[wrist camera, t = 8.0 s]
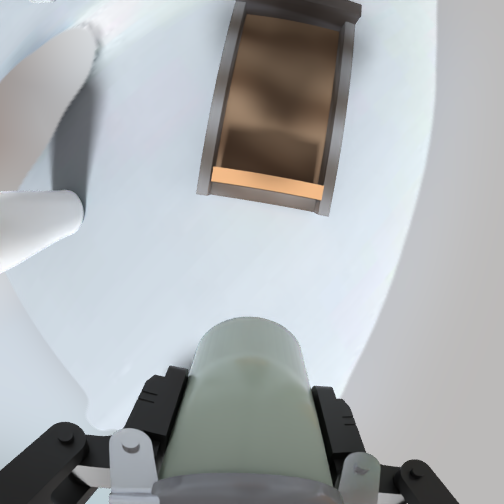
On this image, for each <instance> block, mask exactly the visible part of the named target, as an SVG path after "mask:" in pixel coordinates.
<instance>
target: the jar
mask: <svg viewBox="0 0 504 504" xmlns="http://www.w3.org/2000/svg"><path fill="white" fill-rule="evenodd" d="M151 494H153V495H157V496H158V498H159V500H160V504H345V503H344V499H343V496H342V494H341V493H340V492H339V491H338V490H337V489H336V488H334V487H333V484H332V479H331V474H330V470H329V465H328V461H327V456H326V451H325V447H324V443H323V438H322V434H321V429H320V425H319V421H318V416H317V412H316V408H315V404H314V399H313V395H312V391H311V387H310V383H309V379H308V375H307V371H306V366H305V362H304V358H303V354H302V351H301V347H300V345H299V343H298V341H297V340H296V338H295V337H294V336H293V334H292V333H291V332H290V331H288V330H287V329H286V328H285V327H283V326H281V325H280V324H278V323H276V322H273V321H270V320H267V319H263V318H259V317H239V318H233V319H229V320H226V321H224V322H221V323H219V324H217V325H216V326H214V327H213V328H211V329H210V330H209V331H208V332H207V333H206V334H205V335H204V336H203V338H202V339H201V341H200V342H199V345H198V347H197V350H196V353H195V357H194V360H193V363H192V366H191V369H190V372H189V376H188V379H187V382H186V385H185V389H184V392H183V395H182V398H181V402H180V405H179V408H178V411H177V415H176V418H175V421H174V425H173V428H172V431H171V435H170V438H169V441H168V445H167V448H166V451H165V455H164V458H163V461H162V465H161V468H160V472H159V475H158V481H157V482H154V483H153V486H152V490H151Z"/></svg>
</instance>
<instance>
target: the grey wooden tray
mask: <svg viewBox="0 0 504 504" xmlns="http://www.w3.org/2000/svg"><path fill="white" fill-rule="evenodd" d="M361 6H362V5H361V4H358V3H354V2H351V1H348V0H236V3H235V6H234V10H233V14H232V17H231V21H230V25H229V29H228V33H227V37H226V41H225V45H224V49H223V53H222V58H221V62H220V67H219V71H218V76H217V80H216V85H215V90H214V94H213V99H212V104H211V109H210V114H209V120H208V125H207V130H206V136H205V142H204V147H203V153H202V159H201V165H200V172H199V178H198V185H197V192H196V194H199V195H206V196H207V195H210V194H211V195H218V196H225V197H231V198H237V199H244V200H250V201H256V202H262V203H267V204H273V205H279V206H284V207H290V208H295V209H301V210H306V211H311V212H315V213H316V214H318V215H323V216H328V217H329V212H330V207H331V202H332V197H333V191H334V186H335V180H336V175H337V169H338V163H339V157H340V151H341V145H342V138H343V132H344V125H345V118H346V110H347V102H348V94H349V86H350V77H351V67H352V57H353V46H354V33H355V24H356V22H357V21H358V19H359V18H360V17H361ZM213 166H214V167H221V168H228V169H235V170H241V171H248V172H254V173H260V174H265V175H271V176H277V177H282V178H288V179H293V180H298V181H303V182H308V183H313V184H318V185H322V186H324V189H323V195H322V200H318V199H313V198H308V197H303V196H297V195H292V194H287V193H281V192H276V191H270V190H264V189H259V188H253V187H247V186H240V185H234V184H227V183H221V182H214V181H211V179H212V173H213Z"/></svg>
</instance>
